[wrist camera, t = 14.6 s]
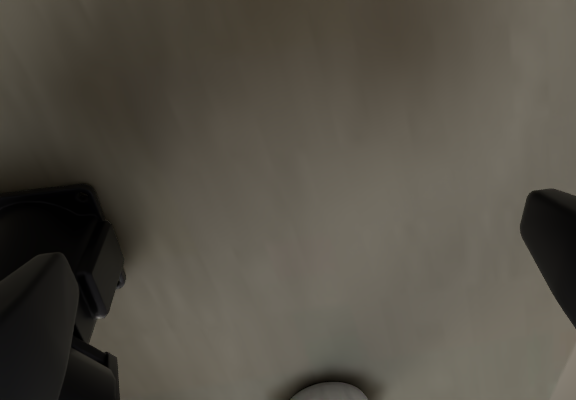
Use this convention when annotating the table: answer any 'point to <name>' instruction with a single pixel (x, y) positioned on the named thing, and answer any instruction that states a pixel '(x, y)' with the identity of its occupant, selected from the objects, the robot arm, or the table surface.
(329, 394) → the cupcake
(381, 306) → the table surface
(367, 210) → the table surface
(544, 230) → the robot arm
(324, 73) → the table surface
